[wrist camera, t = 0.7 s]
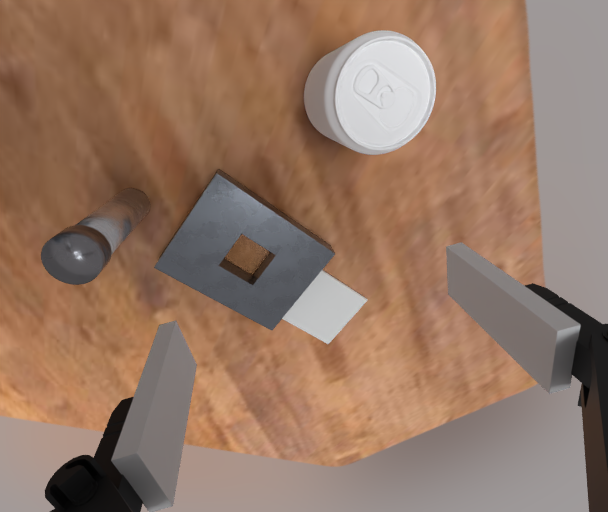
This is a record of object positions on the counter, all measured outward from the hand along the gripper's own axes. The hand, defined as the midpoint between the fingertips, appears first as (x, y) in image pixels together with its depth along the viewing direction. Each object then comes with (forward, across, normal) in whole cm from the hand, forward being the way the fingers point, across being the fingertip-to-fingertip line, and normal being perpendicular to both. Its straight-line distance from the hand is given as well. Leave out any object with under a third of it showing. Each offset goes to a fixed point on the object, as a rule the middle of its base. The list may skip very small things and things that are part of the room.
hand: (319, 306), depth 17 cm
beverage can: (+23, +9, +7) cm, 26 cm away
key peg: (+23, -15, +2) cm, 28 cm away
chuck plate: (+23, -5, -6) cm, 24 cm away
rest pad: (+23, +2, -16) cm, 28 cm away
